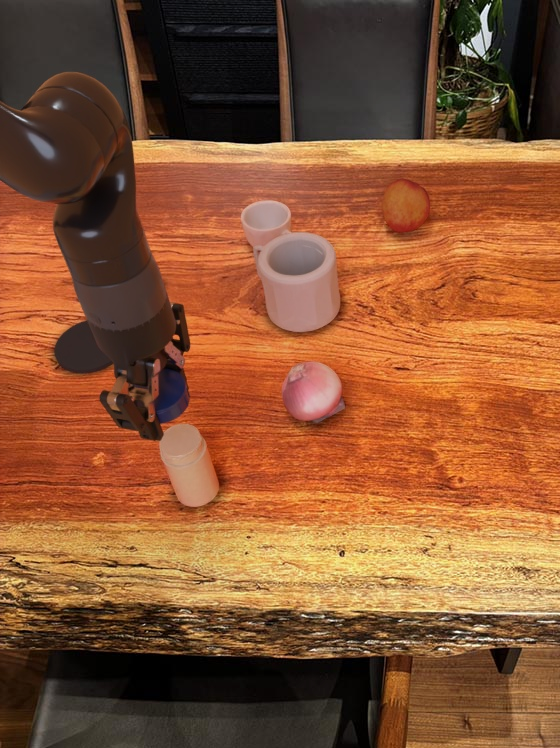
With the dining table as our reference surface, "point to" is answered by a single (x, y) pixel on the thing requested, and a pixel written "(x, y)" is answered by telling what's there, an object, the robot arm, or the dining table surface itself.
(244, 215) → the teacup
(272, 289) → the mug
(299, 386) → the onion
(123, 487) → the dining table surface
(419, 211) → the fruit
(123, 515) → the dining table surface
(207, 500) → the jar
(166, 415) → the jar lid
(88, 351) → the trivet
